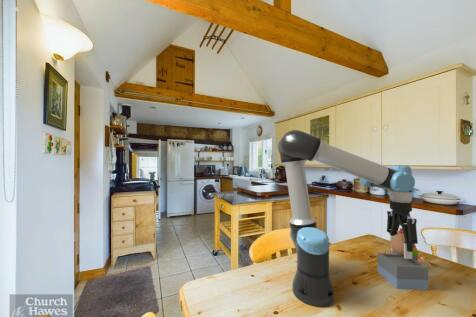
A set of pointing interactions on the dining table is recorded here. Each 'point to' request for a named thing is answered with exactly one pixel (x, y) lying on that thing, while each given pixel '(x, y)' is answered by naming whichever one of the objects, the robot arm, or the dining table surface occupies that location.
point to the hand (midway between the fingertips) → (401, 254)
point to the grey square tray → (403, 271)
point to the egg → (398, 243)
